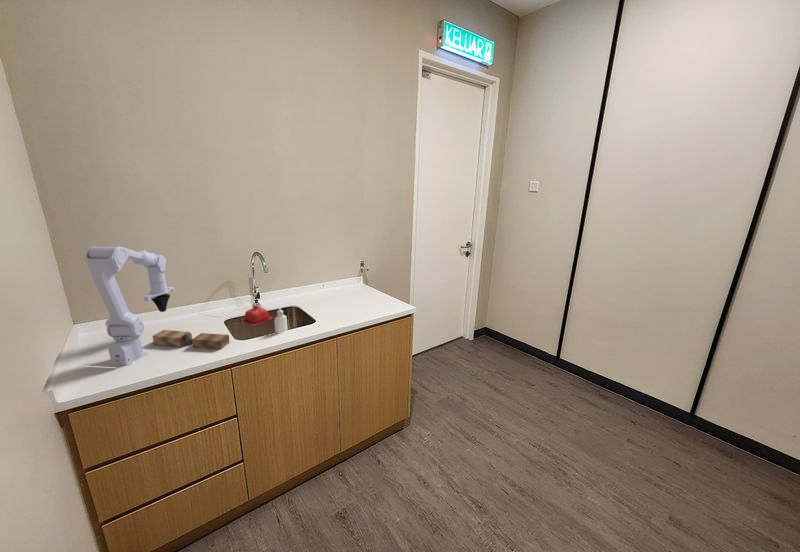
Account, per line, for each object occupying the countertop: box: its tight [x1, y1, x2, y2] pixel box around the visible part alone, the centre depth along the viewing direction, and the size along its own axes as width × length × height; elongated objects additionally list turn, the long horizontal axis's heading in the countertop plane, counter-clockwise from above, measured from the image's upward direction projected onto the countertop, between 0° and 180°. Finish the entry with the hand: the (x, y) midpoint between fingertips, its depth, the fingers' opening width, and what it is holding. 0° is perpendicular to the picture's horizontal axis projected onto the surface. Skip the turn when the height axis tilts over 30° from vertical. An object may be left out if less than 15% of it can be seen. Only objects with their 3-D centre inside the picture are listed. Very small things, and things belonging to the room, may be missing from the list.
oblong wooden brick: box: [192, 332, 230, 350], centre depth 139 cm, size 12×6×4 cm, turn 86°
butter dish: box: [240, 304, 273, 326], centre depth 165 cm, size 12×12×8 cm
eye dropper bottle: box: [273, 307, 288, 334], centre depth 152 cm, size 4×6×12 cm
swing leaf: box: [152, 329, 193, 348], centre depth 140 cm, size 15×6×4 cm, turn 83°
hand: (162, 311), depth 147 cm, fingers closed
